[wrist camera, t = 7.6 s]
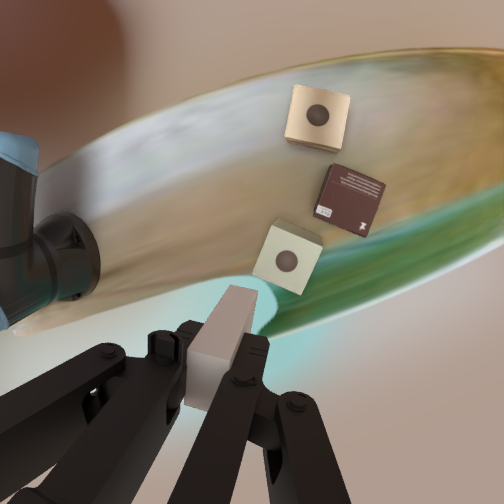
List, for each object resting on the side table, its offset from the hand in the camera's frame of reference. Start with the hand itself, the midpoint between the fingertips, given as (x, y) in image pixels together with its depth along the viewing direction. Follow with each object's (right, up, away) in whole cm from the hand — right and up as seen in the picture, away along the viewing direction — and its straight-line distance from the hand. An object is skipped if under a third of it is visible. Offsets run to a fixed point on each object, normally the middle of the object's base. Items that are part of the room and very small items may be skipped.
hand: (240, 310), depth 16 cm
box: (+12, +10, +21) cm, 26 cm away
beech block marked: (+9, +19, +19) cm, 28 cm away
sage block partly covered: (+6, +4, +23) cm, 24 cm away
